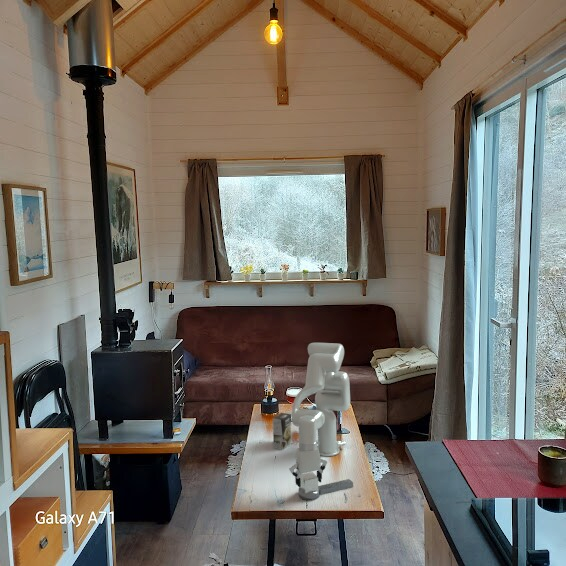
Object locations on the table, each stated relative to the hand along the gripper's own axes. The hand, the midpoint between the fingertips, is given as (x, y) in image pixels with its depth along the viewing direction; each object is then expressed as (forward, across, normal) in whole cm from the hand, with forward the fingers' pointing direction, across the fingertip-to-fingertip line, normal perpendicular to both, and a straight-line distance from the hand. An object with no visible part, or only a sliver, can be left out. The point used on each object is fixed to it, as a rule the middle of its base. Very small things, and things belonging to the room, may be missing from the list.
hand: (308, 483), depth 227 cm
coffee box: (+6, -8, -51) cm, 52 cm away
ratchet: (+5, -8, 0) cm, 10 cm away
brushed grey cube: (+3, 0, 0) cm, 3 cm away
